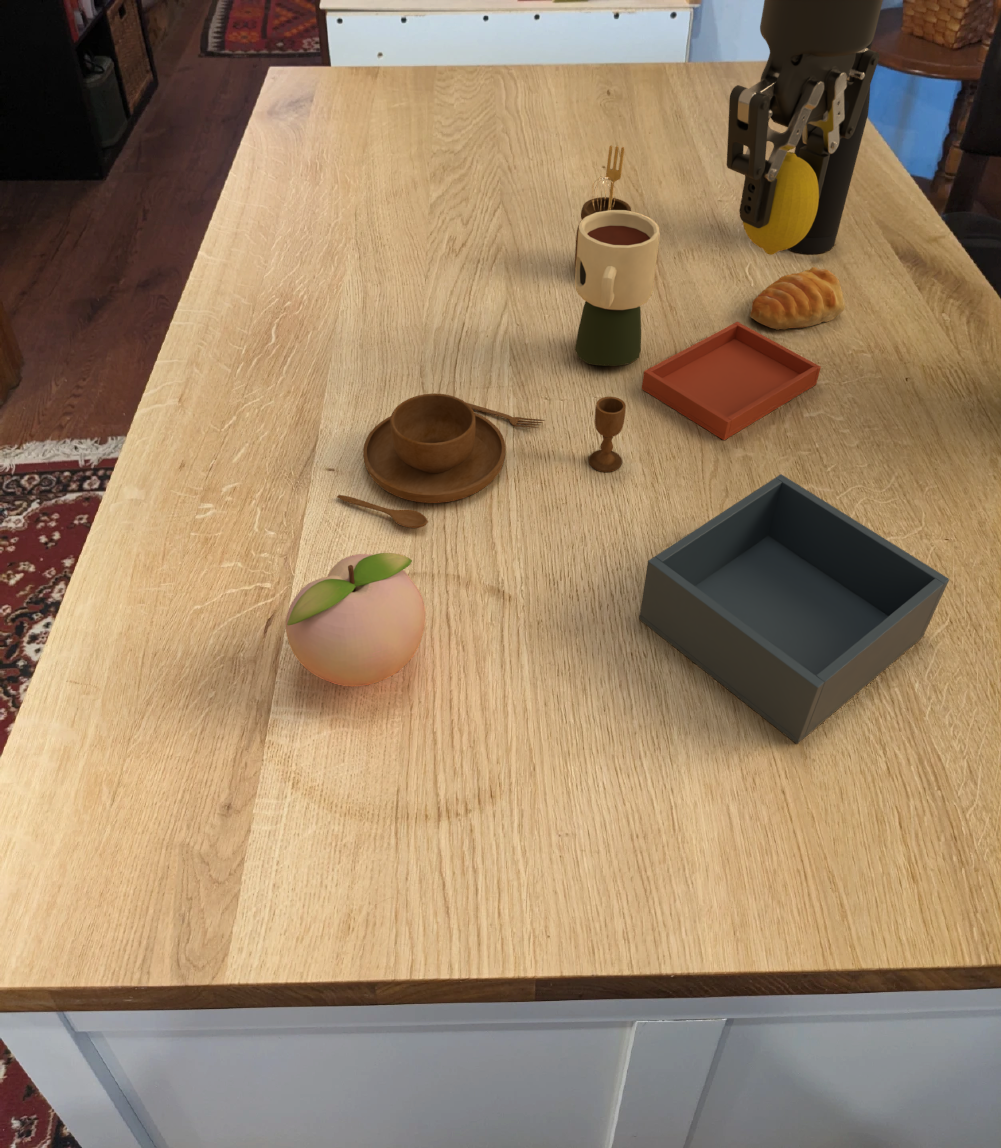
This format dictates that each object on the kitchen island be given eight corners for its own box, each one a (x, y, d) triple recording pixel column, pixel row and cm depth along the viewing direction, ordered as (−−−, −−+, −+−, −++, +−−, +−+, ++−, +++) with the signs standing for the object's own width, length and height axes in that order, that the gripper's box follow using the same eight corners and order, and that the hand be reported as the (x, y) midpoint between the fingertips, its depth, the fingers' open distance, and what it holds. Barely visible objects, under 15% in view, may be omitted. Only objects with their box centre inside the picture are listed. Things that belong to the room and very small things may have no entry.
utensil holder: (568, 280, 108) (574, 168, 99) (581, 251, 112) (588, 142, 103) (623, 288, 107) (634, 176, 98) (634, 259, 111) (646, 149, 102)
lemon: (800, 277, 78) (824, 174, 72) (728, 264, 79) (746, 162, 73) (810, 243, 81) (833, 143, 75) (741, 232, 82) (759, 133, 77)
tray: (733, 339, 100) (737, 321, 98) (816, 384, 95) (821, 366, 93) (641, 389, 94) (643, 370, 93) (723, 440, 89) (727, 422, 87)
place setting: (428, 389, 94) (425, 334, 90) (629, 453, 87) (636, 397, 83) (319, 501, 83) (310, 443, 79) (539, 583, 76) (542, 526, 72)
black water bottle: (839, 233, 115) (919, -72, 94) (828, 259, 111) (908, -54, 89) (783, 222, 117) (849, -80, 95) (770, 247, 113) (835, -63, 91)
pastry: (777, 343, 99) (785, 309, 97) (732, 312, 103) (738, 278, 101) (847, 316, 103) (856, 282, 100) (800, 287, 107) (808, 254, 104)
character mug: (581, 320, 102) (589, 195, 93) (651, 330, 101) (667, 204, 92) (559, 381, 95) (567, 252, 85) (635, 392, 94) (651, 263, 84)
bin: (765, 531, 81) (780, 473, 76) (923, 636, 73) (950, 578, 69) (638, 618, 74) (647, 560, 70) (796, 744, 66) (818, 687, 62)
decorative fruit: (360, 744, 66) (344, 644, 59) (277, 679, 70) (252, 578, 63) (457, 660, 71) (453, 559, 64) (375, 603, 75) (362, 502, 68)
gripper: (809, -2, 60) (757, 260, 72) (944, -48, 67) (876, 200, 79) (712, -31, 64) (678, 223, 76) (849, -71, 71) (798, 168, 83)
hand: (779, 210), depth 77 cm, fingers closed on lemon, 5 cm apart
